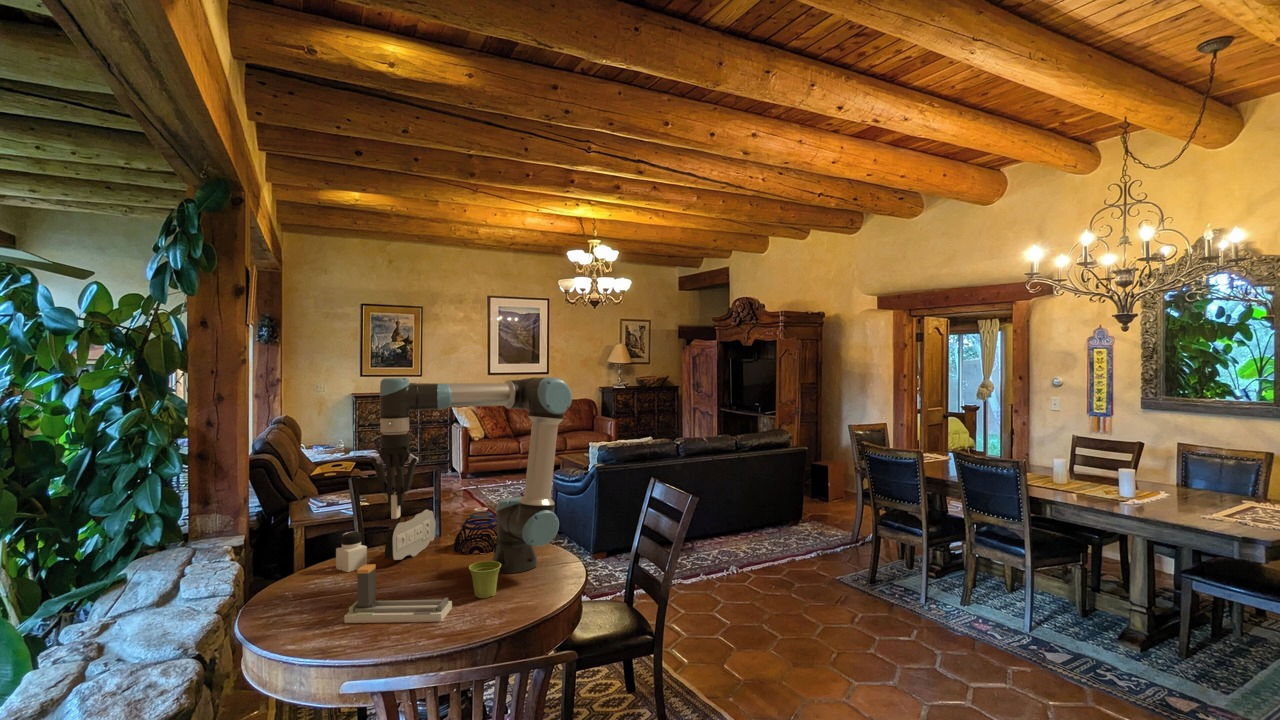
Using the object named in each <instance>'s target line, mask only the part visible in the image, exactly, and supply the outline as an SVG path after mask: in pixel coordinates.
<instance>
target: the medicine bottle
mask: <svg viewBox="0 0 1280 720" xmlns="http://www.w3.org/2000/svg"><path fill="white" fill-rule="evenodd" d="M335 557H336V558H335V563H336V564H335V567H336V569H335V570H338V571H341V570H342V571H341V572H346V573H352V572H354V571H357V569H359V568H360V567H362V566H363V565H364V564H368V546H367V545H363V544H362V532H359V531H349V532H348V531H347V532H345V533H343V534H342V536H341V547H336V548H335ZM351 571H352V572H351Z"/></svg>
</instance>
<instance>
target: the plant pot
mask: <svg viewBox="0 0 1280 720" xmlns="http://www.w3.org/2000/svg"><path fill="white" fill-rule="evenodd" d="M500 567H501V563H499V562H496V561H492V560H483V561H478V562H474V563H471V564H470V565H469V566H468V569H469V571H470V574H471V579H472V586H473V592H474V597H477V598H478V599H488V598H489V597H494V596H495V595H496V593H497V585H498V577H499V573H500V572H499V569H500Z"/></svg>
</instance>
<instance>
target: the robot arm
mask: <svg viewBox="0 0 1280 720" xmlns="http://www.w3.org/2000/svg"><path fill="white" fill-rule="evenodd" d="M409 381H410V380H409V379H408V378H407V377H389V378H388V377H386V378H383V379H382V380H381V381H380V385H379V387H380V388H379V405H380V407H379V408H380V420H379V421H380V426H379V427H380V432H381V434H380V436H379V437H380V451H379V452H378V453H379V454H378V455H377V456H376V457H373V458H371V460H370V463H371V464H372V466H373V467H374V470H375V474H376V478H377V482H378V486H379V490H380V492H381V493H382V494H383V493H384V494H387V505H388V507H391V508H390V513H391V514H390V517H391V519H392V520H393V519H395V520H396V519H398V518H400V517H401V506H403V505H404V502H405V501H404V495H405V493H407V492H409V491H410V490H411V489H412V483H413V479H414V474H415V471H416V466H417V464H418V463H419V461H420V457H419V456H415V455H414V454H412V451H411V449H410V434H409V431H410V411H411V412H415V411H433V410H438V411H440V410H445V409H448V408H453V407H455V408H460V407H499V406H500V407H502V406H504V407H505V408H506V409H518V410H525V411H528V412H527V413H528V414H527V415H528V416H527V417H528V419H529V420H530V421H531V431H530V437H529V439H530V440H529V448H528V458H527V464H526V465H527V466H526V467H527V468H526V477H525V484H524V494H523V496H519V497H518V496H517V497H516V496H515V497H511V498H504V499H500V500H498V502H497V504H496V511H495V512H496V518H497V522H496V524H497V528H496V529H497V537H496V539H497V540H496V541H497V545H496V550H494V553H493V556H492V560H491V561H496V562H499V563H501V567H500V569H499V572H498V573H502V574H503V573H504V574H516V573H517V574H518V573H523V572H526V571H530V570H532V568H533V569H534V567H535V566H536V565H537V566H538V556H537V552H536V550H535V547H538V548H539V547H544V546H547V545H548V544H550V542H551V541H553V540H554V539H555V537H556V536H557V535H558V532H559V527H560V521H559V518H558V516H557V515H556V513H555V501H554V500H553V499H552V498H551V497H552V487H553V480H554V479H553V477H554V469H555V459H556V450H557V449H556V448H557V439H558V432H559V431H558V430H559V424H561V422H563V421H564V416H565V412H567V411H568V409H569V408H570V407H571V405H572V401H573V394H572V390H571V388H570V386H569V385H568V384H567V383H566V381H564V380H562V379H560V378H557V377H554V376H553V377H551V376H549V377H548V376H547V377H529V378H527V377H526V378H522V379H510V380H509V379H508V380H505V381H504V382H503V383H501V382H492V383H491V382H490V383H489V382H488V383H487V382H485V383H484V382H483V383H482V382H475V383H474V382H473V383H472V382H471V383H470V382H469V383H468V382H466V383H465V382H459V383H458V382H457V383H456V382H455V383H454V382H453V383H448V382H447V383H444V382H442V383H441V382H440V383H437V382H436V383H433V382H431V383H429V382H428V383H423V382H422V383H420V382H419V383H416V382H409ZM407 461H408V463H409V464H408V466H407V469H406V475H405V464H406V463H407ZM383 463H384V464H385V468H386V469H385V470H386V473H385V470H384V465H383ZM537 566H536V567H537ZM536 567H535V568H536Z"/></svg>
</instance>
